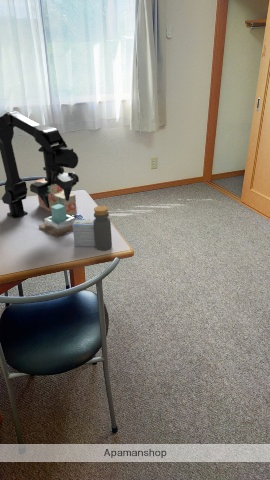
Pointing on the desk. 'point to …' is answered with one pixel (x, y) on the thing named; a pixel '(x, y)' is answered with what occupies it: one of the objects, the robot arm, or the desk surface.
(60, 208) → the teal block
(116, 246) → the desk surface
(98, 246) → the bottle
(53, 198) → the stack of blocks
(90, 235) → the medicine box
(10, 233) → the desk surface
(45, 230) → the base board
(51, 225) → the frame
